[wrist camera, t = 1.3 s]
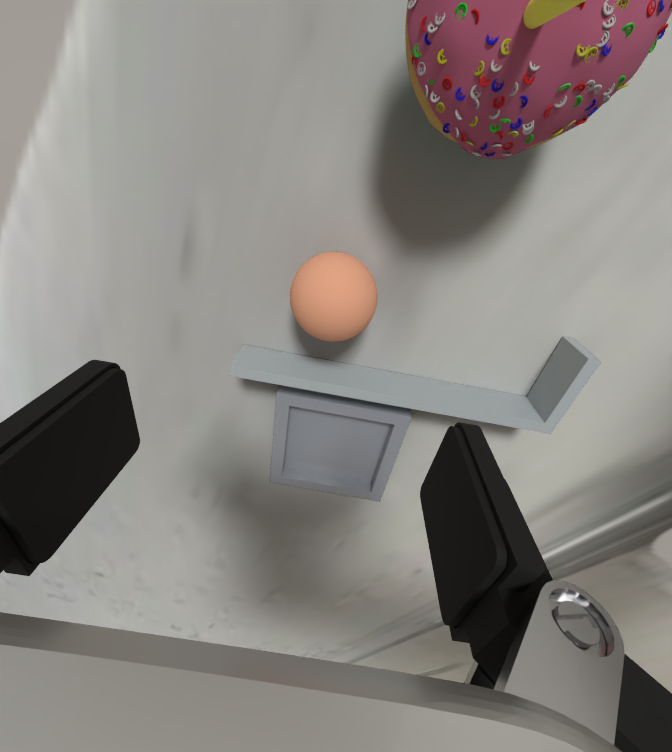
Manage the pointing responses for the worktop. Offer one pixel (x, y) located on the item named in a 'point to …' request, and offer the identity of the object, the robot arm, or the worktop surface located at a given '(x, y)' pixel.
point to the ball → (333, 296)
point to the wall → (431, 386)
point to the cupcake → (523, 64)
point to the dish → (335, 442)
